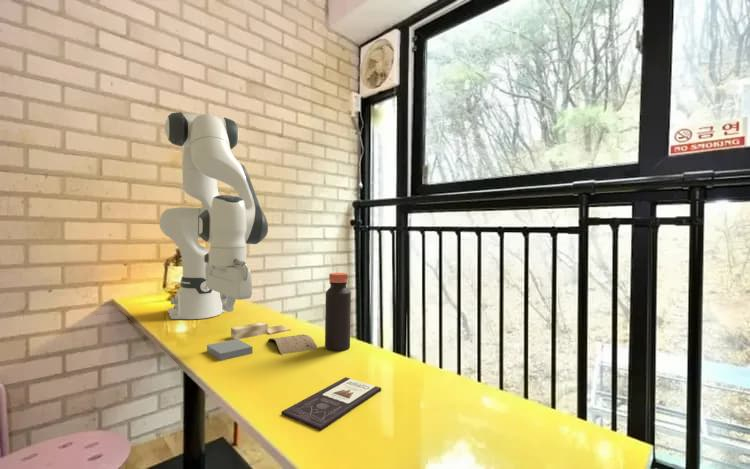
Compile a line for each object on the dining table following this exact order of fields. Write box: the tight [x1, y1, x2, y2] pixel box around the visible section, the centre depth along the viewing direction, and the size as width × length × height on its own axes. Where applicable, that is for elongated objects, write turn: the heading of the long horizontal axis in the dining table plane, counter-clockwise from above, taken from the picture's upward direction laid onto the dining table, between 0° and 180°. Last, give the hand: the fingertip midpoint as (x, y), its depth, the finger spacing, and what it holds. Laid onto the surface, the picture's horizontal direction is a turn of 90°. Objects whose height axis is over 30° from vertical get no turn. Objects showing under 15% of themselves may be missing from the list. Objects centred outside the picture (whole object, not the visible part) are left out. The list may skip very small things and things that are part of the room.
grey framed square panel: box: [206, 339, 253, 362], centre depth 94 cm, size 2×8×9 cm
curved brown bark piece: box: [267, 334, 318, 355], centre depth 101 cm, size 14×10×3 cm
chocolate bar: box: [280, 377, 382, 432], centre depth 68 cm, size 9×1×18 cm
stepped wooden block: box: [230, 321, 291, 340], centre depth 112 cm, size 17×6×3 cm, turn 133°
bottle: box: [324, 272, 352, 352], centre depth 99 cm, size 7×7×20 cm
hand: (227, 310), depth 96 cm, fingers closed
